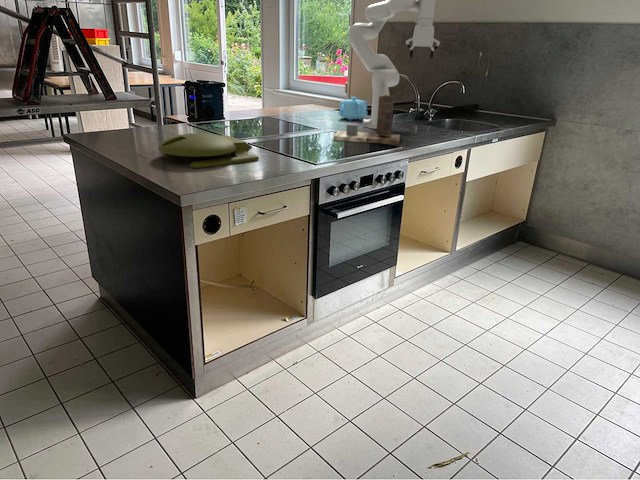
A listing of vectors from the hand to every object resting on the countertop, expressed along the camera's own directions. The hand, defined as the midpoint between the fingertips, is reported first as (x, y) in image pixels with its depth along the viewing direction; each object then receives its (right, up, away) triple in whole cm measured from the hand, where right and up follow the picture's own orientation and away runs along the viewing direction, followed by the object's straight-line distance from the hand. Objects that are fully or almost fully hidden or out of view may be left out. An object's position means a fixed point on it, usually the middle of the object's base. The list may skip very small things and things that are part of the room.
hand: (421, 58), depth 249 cm
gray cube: (-36, -40, -5) cm, 54 cm away
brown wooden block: (-20, -42, -7) cm, 47 cm away
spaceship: (-99, -61, -53) cm, 127 cm away
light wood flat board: (-28, -42, -5) cm, 51 cm away
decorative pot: (-31, -17, +56) cm, 66 cm away
